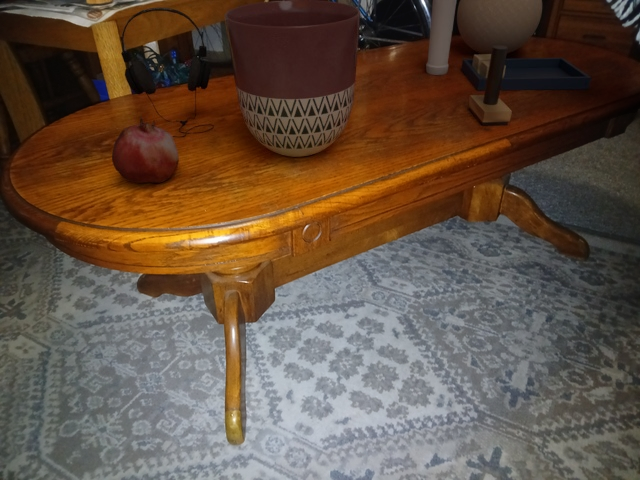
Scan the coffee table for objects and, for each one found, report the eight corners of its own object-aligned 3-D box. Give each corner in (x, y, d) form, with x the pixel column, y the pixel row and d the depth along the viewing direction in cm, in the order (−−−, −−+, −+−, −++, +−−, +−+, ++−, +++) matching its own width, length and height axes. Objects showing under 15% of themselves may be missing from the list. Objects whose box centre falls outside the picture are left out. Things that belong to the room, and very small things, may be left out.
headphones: (132, 141, 90) (103, 19, 78) (138, 118, 99) (112, 6, 87) (219, 134, 92) (203, 14, 81) (217, 112, 101) (202, 2, 90)
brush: (492, 108, 101) (505, 40, 94) (509, 125, 93) (523, 53, 86) (467, 109, 101) (478, 41, 93) (482, 126, 93) (494, 54, 86)
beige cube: (496, 79, 115) (499, 60, 112) (502, 84, 111) (506, 65, 109) (478, 79, 114) (481, 61, 112) (484, 85, 111) (487, 66, 109)
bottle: (427, 75, 119) (440, -48, 105) (423, 69, 123) (435, -50, 109) (450, 75, 119) (465, -48, 105) (444, 68, 123) (459, -51, 109)
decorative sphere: (482, 41, 145) (495, -39, 134) (547, 55, 132) (567, -33, 121) (436, 53, 135) (445, -32, 123) (502, 70, 122) (519, -24, 110)
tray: (560, 68, 122) (562, 57, 121) (588, 89, 109) (591, 77, 108) (461, 69, 123) (462, 59, 121) (477, 90, 110) (479, 78, 108)
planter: (256, 125, 95) (245, -1, 83) (361, 129, 93) (365, 0, 80) (224, 172, 79) (205, 25, 67) (350, 179, 77) (353, 28, 65)
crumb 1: (488, 71, 119) (491, 54, 117) (493, 76, 116) (497, 58, 114) (471, 72, 119) (473, 54, 117) (476, 77, 116) (479, 59, 113)
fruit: (109, 177, 78) (92, 114, 73) (166, 159, 83) (154, 99, 78) (133, 199, 73) (116, 133, 67) (193, 179, 77) (182, 115, 72)
